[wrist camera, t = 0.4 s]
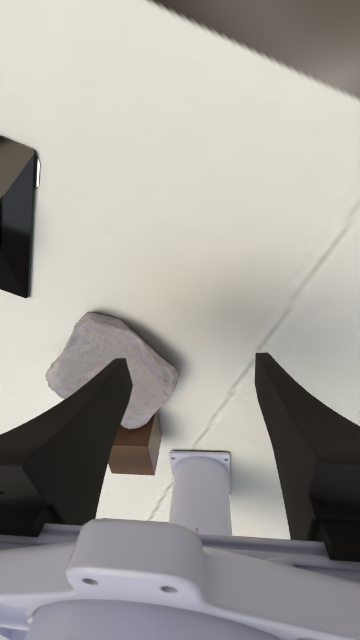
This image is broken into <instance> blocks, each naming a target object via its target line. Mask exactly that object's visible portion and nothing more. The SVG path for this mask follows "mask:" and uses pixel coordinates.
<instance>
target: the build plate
mask: <svg viewBox="0 0 360 640" xmlns="http://www.w3.org/2000/svg"><path fill="white" fill-rule="evenodd" d="M39 171H40V162H39V159H38V157H37V153H36V151H35V150H34V149H32V148H30V147H27V146H25V145H23V144H20V143H18V142H15V141H13V140H10V139H8V138H5V137H3V136H1V135H0V289H1V290H4V291H7V292H10V293H12V294H15V295H18V296H21V297H24V298H28V297H29V296H30V283H31V262H32V241H33V221H34V200H35V190H36V188H37V187H38V186H39Z"/></svg>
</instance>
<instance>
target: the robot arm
mask: <svg viewBox="0 0 360 640" xmlns="http://www.w3.org/2000/svg"><path fill="white" fill-rule="evenodd" d="M255 387H256V392H257V397H258V402H259V405H260V408H261V411H262V414H263V417H264V421H265V424H266V427H267V430H268V433H269V436H270V439H271V443H272V446H273V451H274V455H275V460H276V464H277V469H278V474H279V479H280V484H281V488H282V494H283V499H284V504H285V509H286V514H287V520H288V525H289V531H290V536H291V540H286V539H271V538H256V537H241V536H232V526H231V513H230V500H229V495H230V494H231V475H230V454H229V453H227V452H193V451H171V452H170V453H169V457H170V462H171V467H172V471H173V476H174V483H173V492H172V501H171V509H170V518H169V522H156V521H140V520H123V519H107V518H101V519H95V517H96V512H97V507H98V502H99V498H100V493H101V489H102V484H103V480H104V476H105V472H106V468H107V464H108V461H109V457H110V453H111V450H112V446H113V443H114V440H115V437H116V435H117V432H118V430H119V427H120V424H121V422H122V419H123V417H124V414H125V411H126V409H127V406H128V403H129V400H130V396H131V392H132V388H133V383H132V380H131V376H130V372H129V369H128V365H127V361H126V358H115V359H114V360H113V361H111V362H110V363H109V364H108V365H107V366H106V367H105V368H103V369H102V370H101V371H100V372H99V373H98V374H97V375H95V376H94V377H93V378H92V379H91V380H90V381H88V382H87V383H86V384H85V385H83V386H82V387H81V388H80V389H78V390H77V391H76V392H75V393H73V394H72V395H71V396H69V397H68V398H66V399H65V400H63V401H62V402H60V403H59V404H57V405H56V406H54V407H53V408H51V409H49V410H48V411H46V412H44V413H43V414H41V415H39V416H37V417H36V418H34V419H32V420H30V421H28V422H26V423H24V424H22V425H20V426H18V427H16V428H14V429H12V430H10V431H8V432H6V433H3V434H1V435H0V638H2V639H6V640H360V426H358V425H356V424H355V423H353V422H351V421H350V420H348V419H346V418H344V417H343V416H341V415H340V414H338V413H337V412H335V411H333V410H332V409H330V408H329V407H327V406H326V405H325V404H323V403H322V402H320V401H319V400H318V399H316V398H315V397H314V396H312V395H311V394H310V393H309V392H307V391H306V390H305V389H304V388H303V387H302V386H300V385H299V384H298V383H297V382H296V381H295V380H294V379H293V378H292V377H291V376H290V375H289V374H288V373H287V372H286V371H285V370H284V369H283V368H282V367H281V366H280V365H279V364H278V363H277V362H276V361H275V360H274V359H273V357H272V356H271V355H270V354H269V353H256V361H255Z"/></svg>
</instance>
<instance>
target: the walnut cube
mask: <svg viewBox="0 0 360 640" xmlns="http://www.w3.org/2000/svg"><path fill="white" fill-rule="evenodd" d="M161 437H162V434H161V428H160V423H159V418H158V413H157V411H156V413H154V414H153V416H152V417H151V418H150V420H149V421H148V423H147V424H144V425H143V426H141V427H138V428H134V429H128V428H125V427H123V426H122V425H121V424H120V427H119V430H118V432H117V435H116V437H115V440H114V443H113V446H112V450H111V453H110V457H109V461H108V464H109V467H110V470H111V472H112V473H116V474H137V475H155V470H156V465H157V459H158V454H159V448H160V443H161Z"/></svg>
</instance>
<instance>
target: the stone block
mask: <svg viewBox="0 0 360 640" xmlns="http://www.w3.org/2000/svg"><path fill="white" fill-rule="evenodd" d="M115 358H126V361H127V365H128V369H129V372H130V376H131V380H132V383H133V388H132V392H131V396H130V400H129V403H128V406H127V409H126V411H125V414H124V417H123V419H122V422H121V425H122V426H123V427H125V428H128V429H134V428H138V427H141V426H143V425H144V424H147V423H148V421H149V420H150V418H151V417H152V416H153V414H154V413H156V411H157V410H158V409H159V408H160V407H162V405H163V404H164V403H165V402H166V400H167V399H168V398H169V397H170V396H171V395H172V393H173V391H174V389H175V387H176V384H177V378H178V376H179V373H178V372H177V370H176V369H175V368H174V367H173V366H172V365H170V364H168V363H167V362H166V361H165V360H164V359H162V358H161V357H160V356H159V355H158V354H157V353H156V352H155V350H153V349H152V348H151V347H149V346H148V344H147V343H146V342H145V341H144V340H143V339H142V338H141V337H140V336H138V335H137V334H136V333H135V332H134V331H132V330H131V329H130V328H129V327H128V326H127V325H126V324H125V323H124V322H123V321H122V320H120V319H118V318H115V317H109V316H105V315H101V314H97V313H92V312H88V313H86V314H85V315H84V316H83V317H82V318H81V320H80V321H79V322H78V323H77V324H76V325H75V326H74V330H73V333H72V335H71V337H70V338H69V340H68V342H67V345H66V347H65V349H64V351H63V352H62V354H61V355H60V356H59V357H58V358H57V359H56V361H55V362H53V363H52V365H51V367H50V368H49V369H48V371H47V373H46V375H45V377H46V380H47V381H48V386H49V387H50V388H51V389H52V390H53V391H54V392H56V393H57V395H58V396H60V397H61V398H64V399H66V398H68V397H69V396H71V395H72V394H73V393H75V392H76V391H77V390H78V389H80V388H81V387H82V386H83V385H85V384H86V383H87V382H88V381H90V380H91V379H92V378H93V377H94V376H95V375H97V374H98V373H99V372H100V371H101V370H102V369H103V368H105V367H106V366H107V365H108V364H109V363H110V362H111V361H113V360H114V359H115Z"/></svg>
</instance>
